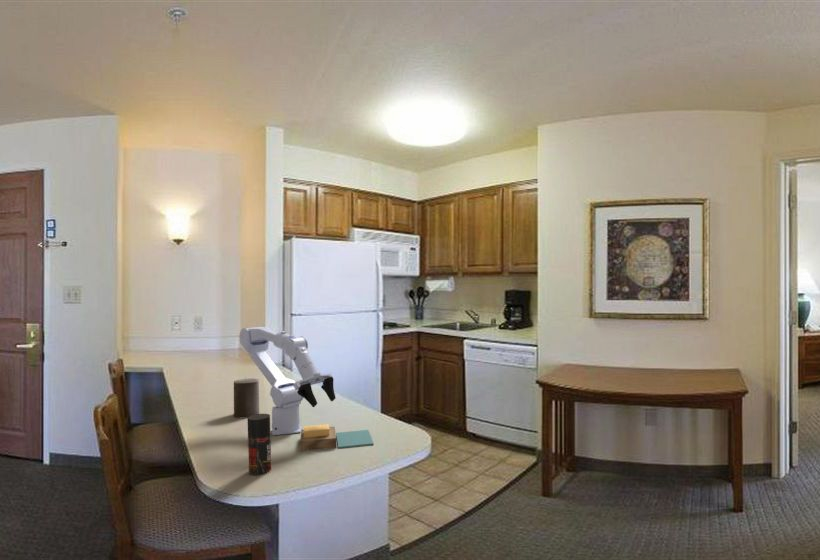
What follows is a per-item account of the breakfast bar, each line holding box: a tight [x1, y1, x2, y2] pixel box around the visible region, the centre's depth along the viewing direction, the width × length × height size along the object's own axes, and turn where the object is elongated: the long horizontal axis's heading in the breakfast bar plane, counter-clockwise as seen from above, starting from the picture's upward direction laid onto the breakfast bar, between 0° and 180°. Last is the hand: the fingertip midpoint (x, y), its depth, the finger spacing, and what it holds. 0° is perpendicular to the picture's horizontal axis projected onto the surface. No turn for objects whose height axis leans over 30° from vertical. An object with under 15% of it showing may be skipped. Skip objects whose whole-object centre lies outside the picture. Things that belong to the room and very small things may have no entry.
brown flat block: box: [299, 426, 338, 452], centre depth 147 cm, size 11×12×3 cm
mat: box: [335, 429, 374, 449], centre depth 150 cm, size 11×14×1 cm
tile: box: [303, 423, 330, 438], centre depth 147 cm, size 8×6×2 cm
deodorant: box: [246, 413, 272, 476], centre depth 127 cm, size 6×6×15 cm
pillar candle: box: [233, 377, 260, 418], centre depth 184 cm, size 10×10×15 cm
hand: (324, 402), depth 149 cm, fingers open, 7 cm apart
